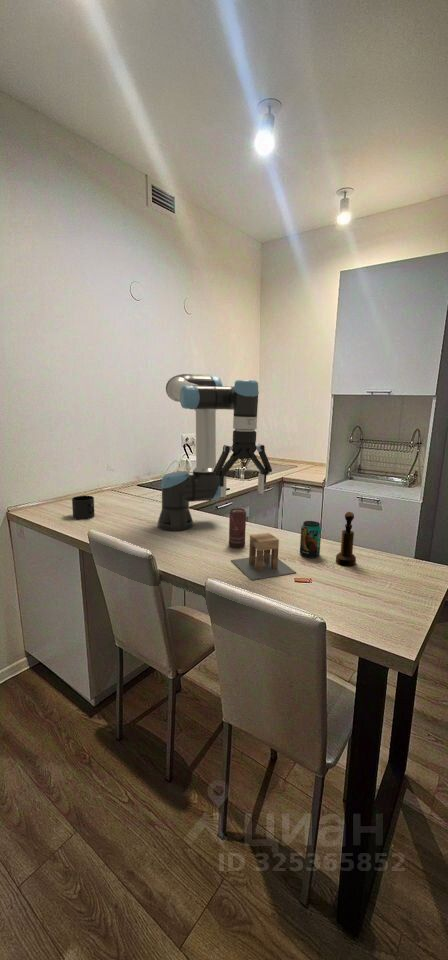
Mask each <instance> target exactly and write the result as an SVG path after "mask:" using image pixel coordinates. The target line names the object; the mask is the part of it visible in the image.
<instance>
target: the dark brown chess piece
mask: <svg viewBox="0 0 448 960" xmlns="http://www.w3.org/2000/svg"><path fill="white" fill-rule="evenodd" d="M344 519H345V522H346V524H344V527H345V529H344V530H342V531H341V539H340V540H341V542H340V543H341V544H340V552H339V553H337V554H336V555H335V563H337V564H338V565H340V566H343V567H344V566H345V567H351V566H352V567H353V566H355V565H356V563H357V558H356V557H357V556H355V554H353V552H354V551H353V549H354V539H355V538H354V537H355V532H354V531H353V530H352V528H353V524H352V522H353V520H354V519H355V514H354V513H353V512H351V511H346V513H345V514H344Z"/></svg>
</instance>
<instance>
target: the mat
mask: <svg viewBox="0 0 448 960" xmlns="http://www.w3.org/2000/svg"><path fill="white" fill-rule="evenodd" d="M263 559H264V555H263ZM230 562H231V563H232V564H233V565H234V566H235V567H236V568H237V569H238V570H239V571H241V573H242V574H243V575H244V576H246V577H247V578H248V579H249V580H250V581H257V580H264V579H268V578H276V577H282V576H289V575H295V574H297V572H296V571H295V570H294V569H292V568H291V567H290V566H289V565H287V564H286V563H284V562H283V561H282V560H281V559H279V558H278V568H277V569H272V568H271V554H270V562H269V563H265V562H264V561H263V571H257V570H256V561H255V565H250V564H249V557H243V558H237V559H230Z"/></svg>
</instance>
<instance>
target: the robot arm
mask: <svg viewBox="0 0 448 960" xmlns="http://www.w3.org/2000/svg"><path fill="white" fill-rule="evenodd" d="M165 392H166V395H167V396H168V398H169V399H170V400H172V401H174V402H180V405H181V408H182V409H186V410H187V409H189V410H194V411H195V459H196V461H195V462H196V463H195V464H196V465H195V468H194V469H192V474H190V473H189V472H188V471H174V472H169V473H166V474H164V475H162V477H161V478H162V479H161V486H160V488H161V511H160V513H159V516H158V519H157V527H158V528H159V529H161V530H163V531H169V532H179V531H185V530H189V529H191V528H193V526H194V520H193V517H192V514H191V511H190V503H192V502H207V501H208V502H211V501H217V500H220V499H221V497H223V498H226V497H227V476H226V475H227V473H228V472H229V471H230V469H231V468H232V467H233V465H235V463H236V462H237V461H238V460H251V461H252V462H253V464H254V466H256V468H257V469H258V472H260V473H258V474H257V475H258V478H257V493H258V494H260V495H264V490H265V489H264V488H265V487H264V486H265V484H266V483H267V476H268V475H269V473H272V471H273V468H272V466H271V463H270V462H269V459H268V456H267V453H266V449H265V448H266V446H265V445H263V444H261V443H259V444H258V445H256V443H257V428H258V426H257V425H258V424H257V423H258V407H259V406H258V405H259V394H260V392H259V382H258V381H257V380H251V379H237V380H235V382H234V386H226V385H225V386H224V385H223V382H222V380H221V378H220V377H219V376H218V375H212V374H211V375H210V374H190V373H189V374H188V373H183V374H178V375H174V376H173V377H171V378H170V379H168V381H167V383H166V385H165ZM218 410H228V411H230V410H233V421H232V423H233V424H232V428H233V429H234V430H233V431H232V446H231V445H226V444H225V445H223V446H222V452H221V454H220V456H219V459H218V460H217V453H216V450H217V447H216V445H217V443H216V440H217V439H216V437H217V436H216V435H217V433H216V425H217V424H216V423H217V422H216V419H217V418H216V414H217V413H216V411H218ZM231 451H232V454H231V455H230V457H229V454H230V453H231ZM256 451H257V452H258V454H259V457H260V460H261V461H260V460H259V459H258V456H257V455H256V454H255V453H256ZM228 457H229V459H228ZM227 459H228V460H227ZM261 462H262V463H261Z"/></svg>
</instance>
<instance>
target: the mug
mask: <svg viewBox="0 0 448 960" xmlns="http://www.w3.org/2000/svg"><path fill="white" fill-rule="evenodd" d="M71 504H72V505H71V506H72V518H73V519H74V518H76V519H75V520H79V519H84V520H89V519H88V518H90V519H92V517H93V518H94V517H95V515H96V514H95V497H94V496H93V495H92V496H91V495H79V496H78V495H77V496H74V497H72V498H71Z"/></svg>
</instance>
